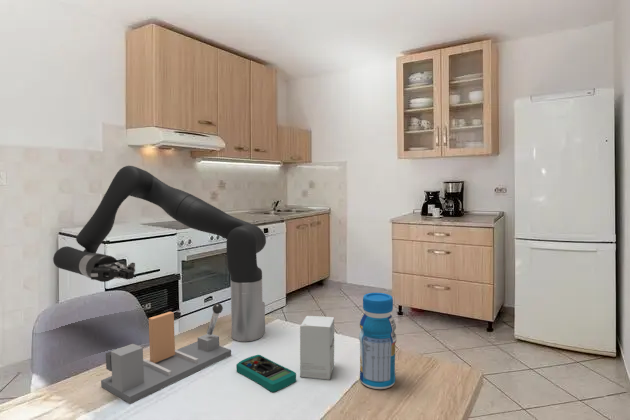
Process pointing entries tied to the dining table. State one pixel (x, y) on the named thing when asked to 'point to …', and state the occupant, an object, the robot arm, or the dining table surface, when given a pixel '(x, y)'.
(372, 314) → the beverage bottle
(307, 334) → the supplement box
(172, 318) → the tan upright board
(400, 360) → the dining table surface
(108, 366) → the push button
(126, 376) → the console
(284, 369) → the digital multimeter
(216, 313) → the toggle lever
